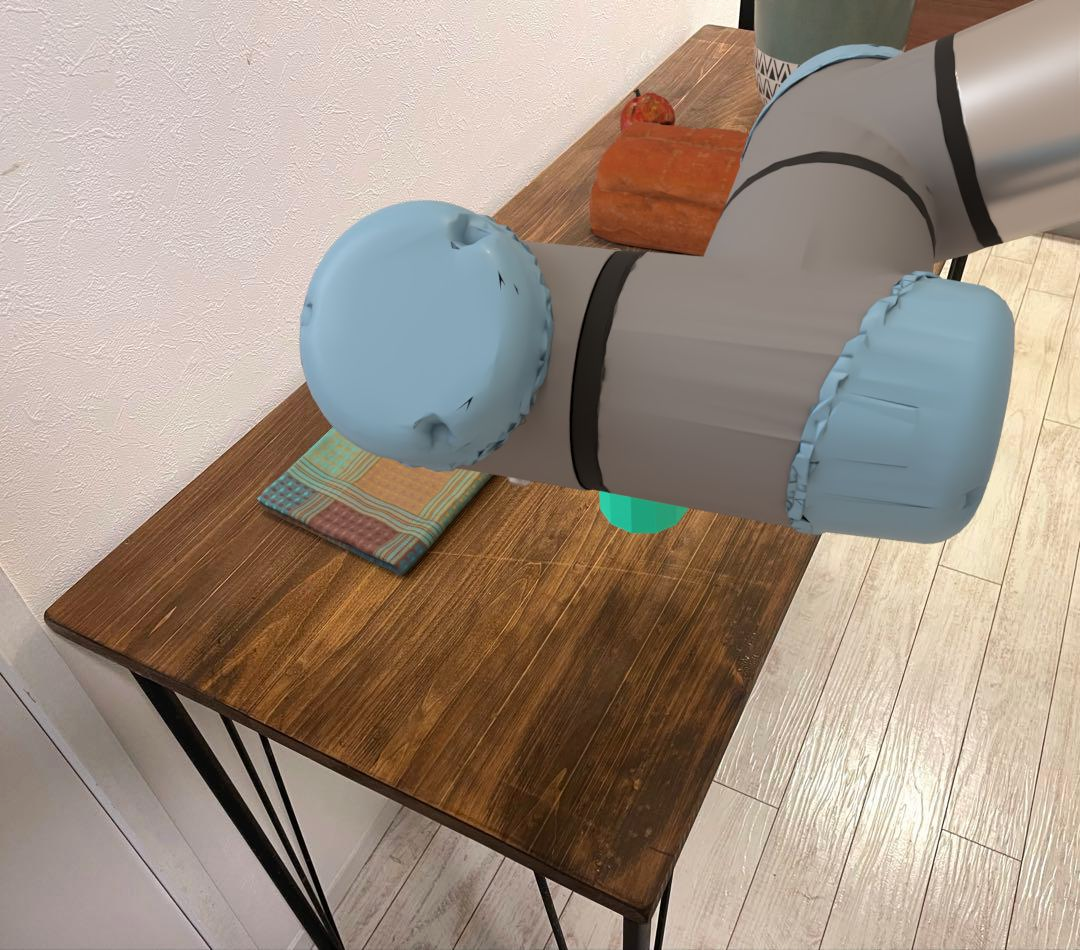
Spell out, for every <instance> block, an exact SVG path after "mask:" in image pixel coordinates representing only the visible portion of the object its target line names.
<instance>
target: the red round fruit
mask: <svg viewBox="0 0 1080 950" xmlns="http://www.w3.org/2000/svg"><path fill="white" fill-rule="evenodd" d="M632 93H634V94H635V97H633V98H631V99H629V101H627V102H626V104H624V107H623V108H622V110H621V113H620V120H619V122H620V133H621V132H622V131H623V130H624V129H626V128H627V127H628V126H630V125H631V124H632V123H634V122H635V121H639V122H650V123H660V124H661V125H672V126H675V123H676V113H675V110H674V108H673V106H672V104H671V103H670V102H669V101H668V100H667V99H666V98H665V97H663V96H662V95H659V94H657V93H655V92H645V93H643V94H641V91H640V89H639V88H636V89H635V90H633V91H632Z"/></svg>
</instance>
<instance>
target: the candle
mask: <svg viewBox="0 0 1080 950" xmlns="http://www.w3.org/2000/svg"><path fill="white" fill-rule="evenodd" d="M598 494H599V495H598V496H599V510H600V511H601V512H602V514H603V515H604V516H605V518H606V519H607V520H608V522H609V523H610V525H611V526H614V527H617V528H619V529H621V530H623V531H626V532H628V533H630V534H658V533H660V532H662V531H665V530H667V529H669V528H673V527H675V526H676V525H678V523H680V521H681V519H682V518H683V517H684V515H685V514H686V513H687V512H688V510H689V508H686V507H680V506H675V505H670V504H665V503H659V502H654V501H649V500H644V499H638V498H633V497H628V496H623V495H617V494H612V493H608V492H602V491H598Z"/></svg>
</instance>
